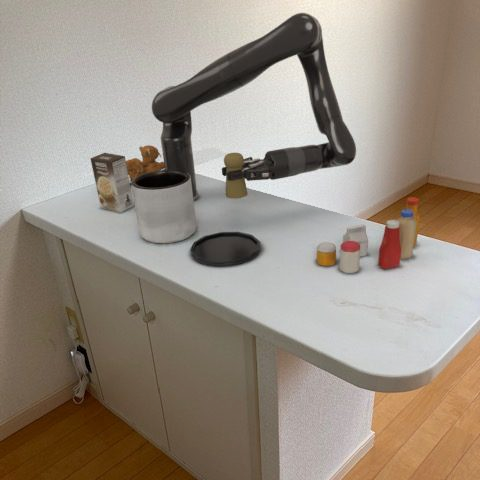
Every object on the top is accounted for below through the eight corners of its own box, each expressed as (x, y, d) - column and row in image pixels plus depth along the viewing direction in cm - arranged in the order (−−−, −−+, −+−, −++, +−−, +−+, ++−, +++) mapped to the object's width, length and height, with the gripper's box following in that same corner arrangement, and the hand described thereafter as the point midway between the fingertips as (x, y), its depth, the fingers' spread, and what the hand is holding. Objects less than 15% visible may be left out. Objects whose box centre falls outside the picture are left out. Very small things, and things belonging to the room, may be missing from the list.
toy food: (409, 239, 132) (415, 193, 125) (437, 260, 121) (444, 212, 115) (310, 256, 128) (311, 209, 121) (330, 279, 117) (332, 230, 110)
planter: (128, 240, 142) (117, 185, 134) (161, 218, 154) (153, 167, 145) (176, 249, 136) (168, 192, 127) (208, 226, 147) (202, 172, 139)
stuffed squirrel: (172, 184, 180) (167, 146, 172) (134, 193, 174) (127, 154, 167) (161, 177, 187) (155, 140, 180) (124, 186, 182) (117, 148, 174)
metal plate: (176, 256, 132) (175, 251, 131) (220, 231, 144) (219, 226, 143) (232, 273, 123) (232, 268, 122) (274, 244, 134) (274, 239, 134)
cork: (239, 199, 136) (236, 158, 130) (221, 196, 139) (217, 155, 133) (251, 192, 140) (249, 151, 134) (233, 189, 143) (229, 149, 137)
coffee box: (99, 208, 164) (88, 158, 156) (114, 201, 169) (103, 152, 160) (121, 213, 160) (110, 161, 151) (134, 206, 165) (125, 155, 156)
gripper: (274, 142, 143) (215, 153, 139) (295, 155, 132) (232, 167, 128) (275, 169, 147) (218, 180, 143) (296, 184, 136) (234, 196, 132)
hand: (225, 174), depth 136 cm, fingers closed on cork, 3 cm apart
